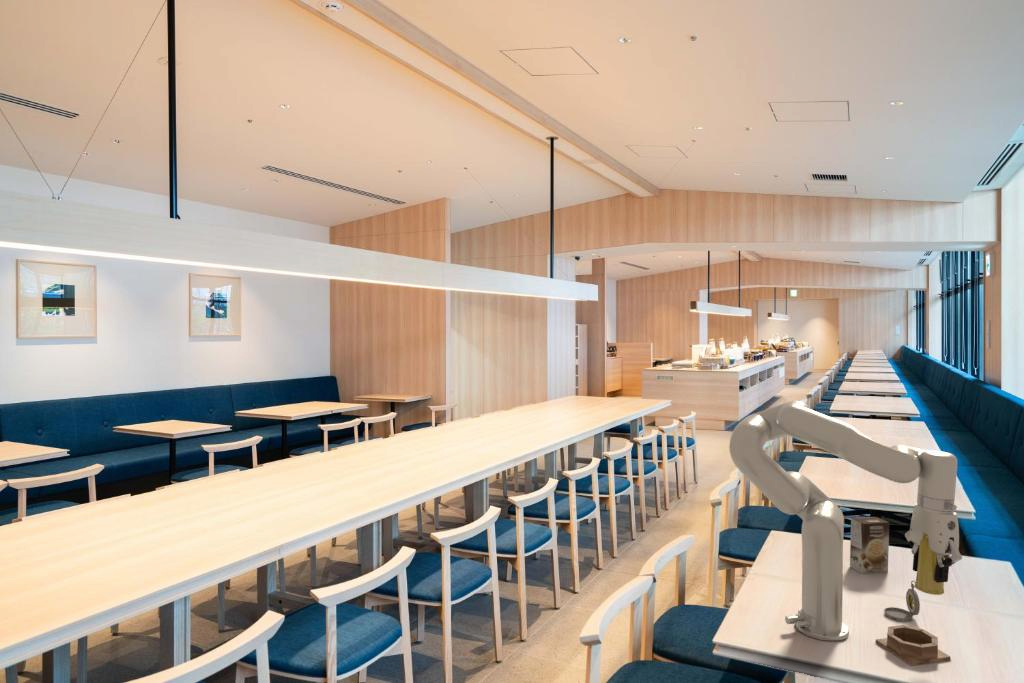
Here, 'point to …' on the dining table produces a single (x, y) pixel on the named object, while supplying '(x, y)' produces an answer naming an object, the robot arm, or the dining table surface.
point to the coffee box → (869, 544)
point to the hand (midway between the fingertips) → (929, 575)
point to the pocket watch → (914, 610)
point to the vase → (927, 569)
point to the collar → (912, 645)
